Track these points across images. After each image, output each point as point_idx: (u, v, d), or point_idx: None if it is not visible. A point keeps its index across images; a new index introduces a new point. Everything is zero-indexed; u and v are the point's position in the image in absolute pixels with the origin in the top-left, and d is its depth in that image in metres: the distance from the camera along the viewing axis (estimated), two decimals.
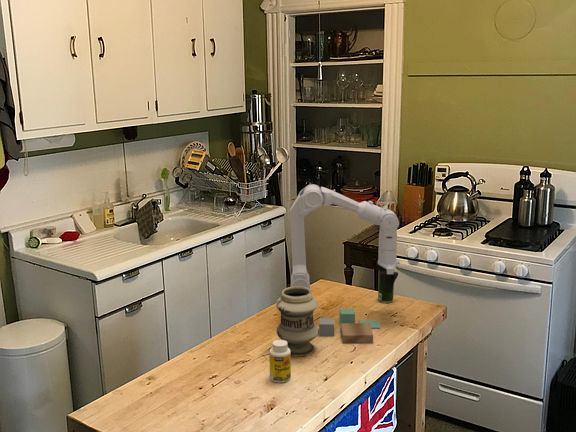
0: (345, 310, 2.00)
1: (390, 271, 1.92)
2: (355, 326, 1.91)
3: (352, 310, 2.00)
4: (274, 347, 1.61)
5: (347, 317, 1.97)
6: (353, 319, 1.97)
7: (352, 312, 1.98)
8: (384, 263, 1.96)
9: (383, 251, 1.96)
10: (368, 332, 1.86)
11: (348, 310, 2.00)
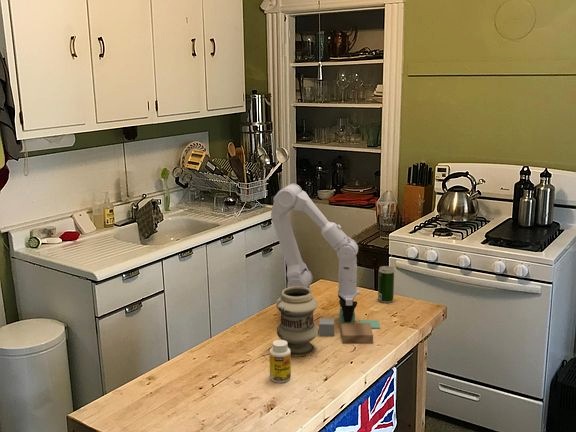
0: None
1: (349, 302, 1.91)
2: (355, 326, 1.91)
3: None
4: (274, 347, 1.61)
5: None
6: (353, 319, 1.97)
7: None
8: (344, 294, 1.95)
9: (343, 282, 1.94)
10: (368, 332, 1.86)
11: None
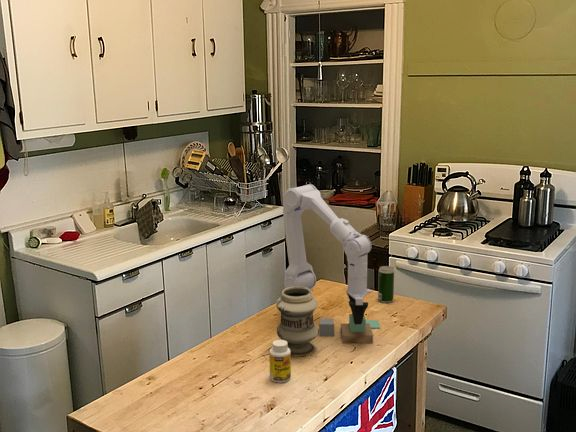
0: None
1: (359, 302, 1.79)
2: None
3: None
4: (274, 347, 1.61)
5: None
6: (364, 325, 1.86)
7: (363, 318, 1.87)
8: (353, 292, 1.83)
9: (352, 280, 1.82)
10: (368, 332, 1.86)
11: None
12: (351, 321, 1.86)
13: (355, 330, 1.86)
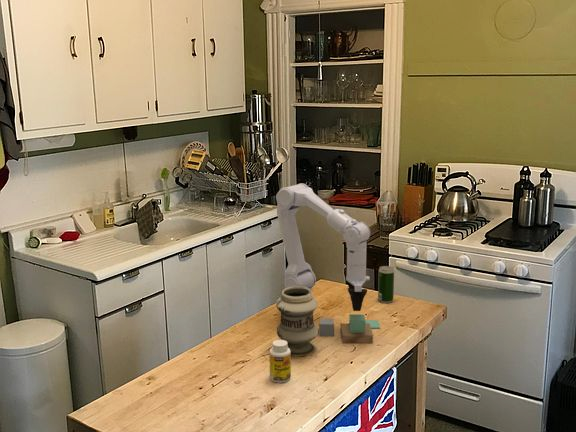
0: (355, 316, 1.88)
1: (358, 288, 1.80)
2: None
3: (362, 316, 1.88)
4: (274, 347, 1.61)
5: (357, 324, 1.85)
6: (363, 326, 1.85)
7: (362, 318, 1.86)
8: (352, 279, 1.84)
9: (351, 266, 1.84)
10: (368, 332, 1.86)
11: (359, 316, 1.88)
12: (351, 321, 1.85)
13: (355, 330, 1.86)
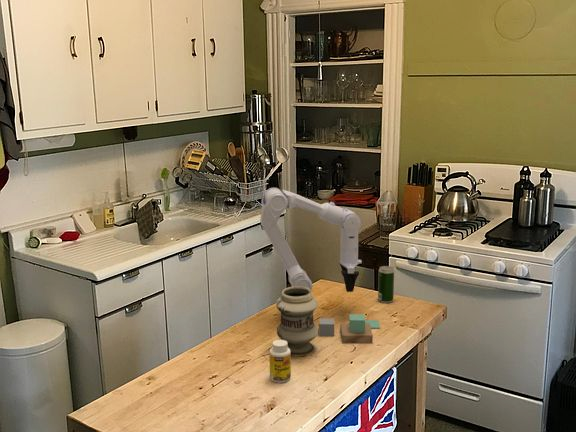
0: (355, 316, 1.88)
1: (350, 270, 1.95)
2: None
3: (362, 316, 1.88)
4: (274, 347, 1.61)
5: (357, 324, 1.86)
6: (363, 326, 1.86)
7: (362, 318, 1.86)
8: (345, 262, 2.00)
9: (344, 251, 1.99)
10: (367, 332, 1.86)
11: (359, 316, 1.88)
12: (350, 321, 1.86)
13: (354, 330, 1.86)
